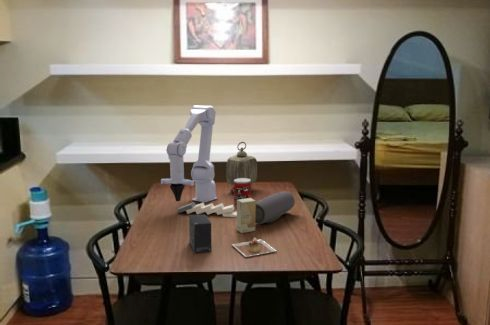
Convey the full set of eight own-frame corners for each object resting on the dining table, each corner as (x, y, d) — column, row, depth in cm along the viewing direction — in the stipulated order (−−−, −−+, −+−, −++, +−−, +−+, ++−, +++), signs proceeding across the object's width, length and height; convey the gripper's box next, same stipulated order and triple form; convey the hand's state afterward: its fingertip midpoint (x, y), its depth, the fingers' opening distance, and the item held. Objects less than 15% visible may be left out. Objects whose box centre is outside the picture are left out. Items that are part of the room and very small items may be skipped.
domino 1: (176, 209, 206) (191, 204, 204) (180, 206, 210) (194, 201, 209) (178, 213, 206) (192, 208, 205) (181, 210, 211) (195, 205, 209)
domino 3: (195, 211, 204) (210, 205, 203) (198, 208, 209) (212, 202, 207) (197, 214, 205) (211, 209, 203) (199, 211, 209) (214, 206, 207)
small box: (213, 251, 165) (212, 222, 162) (194, 254, 163) (193, 224, 161) (206, 240, 175) (205, 213, 172) (188, 242, 173) (187, 215, 171)
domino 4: (205, 211, 203) (220, 205, 202) (208, 208, 208) (222, 203, 206) (207, 214, 204) (222, 209, 202) (209, 211, 208) (224, 206, 206)
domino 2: (186, 210, 205) (200, 205, 204) (189, 207, 210) (203, 202, 208) (187, 213, 206) (201, 208, 204) (190, 210, 210) (204, 205, 208)
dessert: (245, 259, 159) (245, 246, 158) (231, 247, 170) (231, 234, 169) (277, 253, 164) (277, 240, 163) (261, 242, 175) (261, 229, 174)
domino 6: (222, 214, 202) (238, 215, 200) (225, 211, 206) (241, 212, 204) (222, 217, 202) (238, 218, 200) (225, 214, 206) (241, 215, 205)
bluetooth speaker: (277, 210, 210) (277, 188, 207) (295, 214, 204) (296, 191, 202) (247, 224, 191) (246, 200, 189) (266, 229, 186) (266, 204, 184)
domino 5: (216, 211, 203) (232, 207, 202) (217, 208, 207) (233, 204, 206) (217, 215, 203) (233, 210, 202) (219, 212, 207) (234, 208, 206)
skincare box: (241, 233, 182) (241, 202, 179) (236, 230, 185) (235, 199, 183) (256, 230, 184) (256, 200, 182) (250, 227, 188) (250, 197, 186)
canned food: (231, 204, 218) (231, 181, 216) (238, 200, 225) (237, 177, 223) (247, 206, 215) (246, 182, 213) (253, 201, 222) (253, 178, 220)
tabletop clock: (243, 186, 249) (243, 139, 244) (258, 189, 244) (258, 140, 238) (226, 193, 237) (225, 143, 232) (241, 196, 232) (241, 144, 227)
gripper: (157, 171, 203) (158, 202, 206) (189, 172, 199) (190, 204, 202) (164, 167, 210) (165, 197, 212) (195, 169, 206) (196, 199, 209)
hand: (178, 200), depth 208 cm, fingers closed
